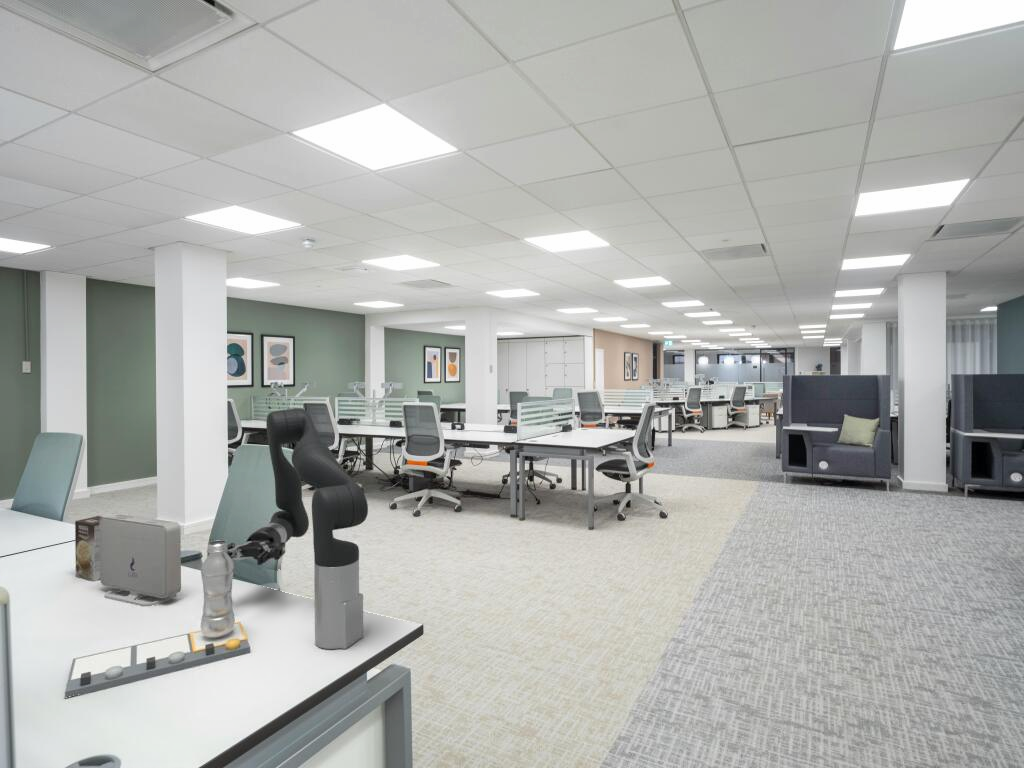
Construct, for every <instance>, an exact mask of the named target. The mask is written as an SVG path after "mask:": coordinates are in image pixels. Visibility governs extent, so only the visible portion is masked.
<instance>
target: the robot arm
mask: <svg viewBox="0 0 1024 768" xmlns="http://www.w3.org/2000/svg"><path fill="white" fill-rule="evenodd" d="M266 435H267V442H268V448H269V455H270V461H271V465H272V471H273V476H274V487H275V489H274V490H275V491H274V493H275V505H276V508H278V509H279V510H278V511H275V512H274V513H273V515H272V516H271V518H270V521H269V523H267V524H265V525H263V526H261V527H260V528H259V529H256V530H255V531H254V532H253V533H251V534H250V535H249V536H248V538H247V539H246V541H245V543H242V544H238V545H236V544H235V543H234V542H231V543H229V544H227V548H228V550H227V551H226V553H227V554H228V555H229V556H230V557H231V559H232V560H233V561H241V560H247V559H254V560H256V561H257V566H262V565H264V564H265V563H266V562H270V561H271V560H272V559H273V560H277V561H278V560H280V559H281V558H282V557H283V556H284V555H285V553H286V543H287V542H288V541H289V540H290V539H291V538H301V537H303V536H305V535H306V533H307V532H308V530H309V526H310V525H309V524H310V522H309V521H310V520H309V516H308V513H307V511H306V507H305V505H304V502H303V494H302V493H303V489H302V488H303V483H302V482H304V483H305V484H307V485H309V486H311V487H312V488H315V489H316V490H315V491H314V492H313V495H312V500H311V518H312V519H311V520H312V535H313V536H312V537H313V539H312V540H313V541H312V542H313V552H314V553H313V554H314V555H313V556H314V558H313V559H314V569H313V570H314V577H313V578H314V644H315V646H317V647H318V648H321V649H325V650H326V649H327V650H337V649H344V650H345V649H348V648H349V647H350V646H352V645H353V644H355V643H356V642H358V641H359V640H361V639H362V638H363V637H364V594H363V593H360V549H359V546H358V544H356V543H355V542H352V541H348V540H342V539H338V538H335V537H334V531H336V530H341V529H348V528H353V527H356V526H359V525H362V524H363V523H364V522H365V521H366V519H367V517H368V514H369V508H368V507H369V506H368V505H369V504H368V500H367V497H366V495H365V493H364V491H363V489H362V488H361V487H360V485H359V484H358V483H357V482H356V481H355V480H354V479H353V478H352V477H351V476H350V475H349V473H347V472H346V471H345V470H344V468H343V467H342V466H341V465H340V463H339V462H338V460H337V458H336V457H335V454H333V452H332V451H331V449H330V448H329V446H328V445H327V444H326V443H325V441H324V440H323V439H322V436H320V434H319V432H318V430H317V428H316V426H315V424H314V422H313V420H312V418H311V416H310V414H309V413H308V411H307V410H306V409H304V408H301V407H300V408H298V407H296V408H288V409H281V410H275V411H271V412H269V413H268V414H267V417H266ZM294 443H296V445H295V446H294V448H293V450H292V453H291V463H290V461H289V460H288V459H287V457H286V455H285V454H284V451H283V447H282V445H286V444H294Z"/></svg>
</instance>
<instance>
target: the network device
mask: <svg viewBox="0 0 1024 768" xmlns="http://www.w3.org/2000/svg"><path fill="white" fill-rule="evenodd" d="M101 517H102V518H101V519H100V521H99V532H100V581H99V582H100V583H101V585H102V586H104V587H108V588H113V589H111V590H109V591H106V592H105V593H104V598H105V599H108V600H112V601H117V602H122V603H125V604H129V603H130V605H134V604H135V605H134V606H138V605H140V607H145V606H146V607H153V606H152V605H154V606H157V604H158V605H160V604H163V603H166V602H168V601H170V599H171V600H173V599H174V597H175V598H176V597H177V596H176V595H178V593H180V592H181V591H182V590H181V589H182V561H181V560H182V554H181V553H182V552H181V551H182V549H181V548H182V544H181V543H182V542H181V541H182V540H181V537H182V536H181V525H180V523H179V522H178V521H173V520H166V519H165V520H164V519H159V518H158V519H157V518H151V517H144V516H135V515H129V514H122V513H115V514H110V515H106V516H101ZM121 590H122V591H127V592H129V594H128V595H127V596H119V595H114V594H116V592H117V593H119V592H118V591H120V592H122V591H121ZM113 593H114V594H113ZM110 594H111V595H110ZM146 595H148V596H150V597H155V598H159V599H157V600H154V601H152V602H146V601H142V600H139V599H138V598H140V599H142V598H141V597H143V598H145V597H147V596H146ZM144 596H145V597H144ZM136 599H137V600H136ZM165 601H166V602H165Z"/></svg>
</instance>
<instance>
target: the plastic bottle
mask: <svg viewBox="0 0 1024 768" xmlns="http://www.w3.org/2000/svg"><path fill="white" fill-rule="evenodd" d="M227 545H228V541H227V540H224V539H220V540H219V539H218V540H213V541H210V542H208V543H207V551H206V553H208V555H207V556H206V558H205V559H204V561H203V562H202V565H201V568H200V574H201V581H202V586H203V589H202V590H203V591H202V592H203V605H202V606H203V608H202V615H201V620H200V630H201V631H202V634H203V635H204V636H205V637H206V638H219V637H223V636H226V635H228V634H229V633H230V632H231V631H232V629H233V628H234V623H236V619H235V613H234V610H233V599H232V598H233V597H232V592H233V591H232V590H233V580H234V572H235V563H234V560H232V559H231V557H232V556H231V557H230V556H229V555H228V554H227V553H226V551H227V550H228V548H227Z"/></svg>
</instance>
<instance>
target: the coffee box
mask: <svg viewBox="0 0 1024 768" xmlns="http://www.w3.org/2000/svg"><path fill="white" fill-rule="evenodd" d="M102 517H103V516H100V515H95V516H91V517H88V518H87V517H86V518H84V519H78V520H75V521H74V523H75V524H74V525H75V526H74V527H75V528H74V529H75V530H74V533H75V535H74V540H75V549H74V551H75V577H77V578H81V579H84V580H88V581H92V582H96V581H99V579H100V532H99V521H100V519H101V518H102Z"/></svg>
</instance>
